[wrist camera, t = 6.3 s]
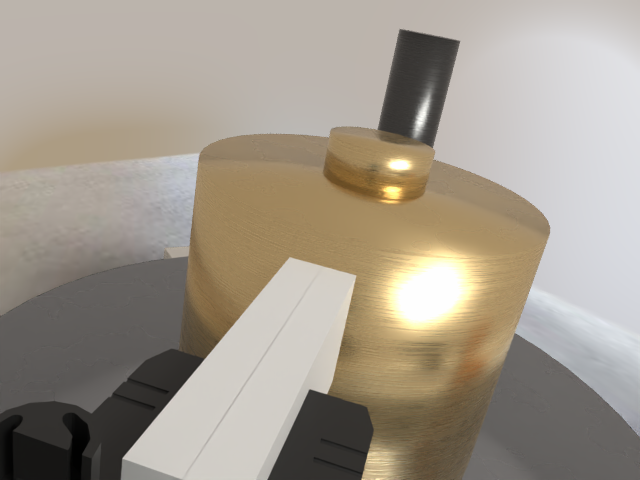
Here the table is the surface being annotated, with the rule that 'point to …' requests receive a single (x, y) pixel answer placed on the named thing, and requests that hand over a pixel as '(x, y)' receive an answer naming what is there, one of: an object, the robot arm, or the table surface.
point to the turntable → (166, 317)
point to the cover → (373, 276)
